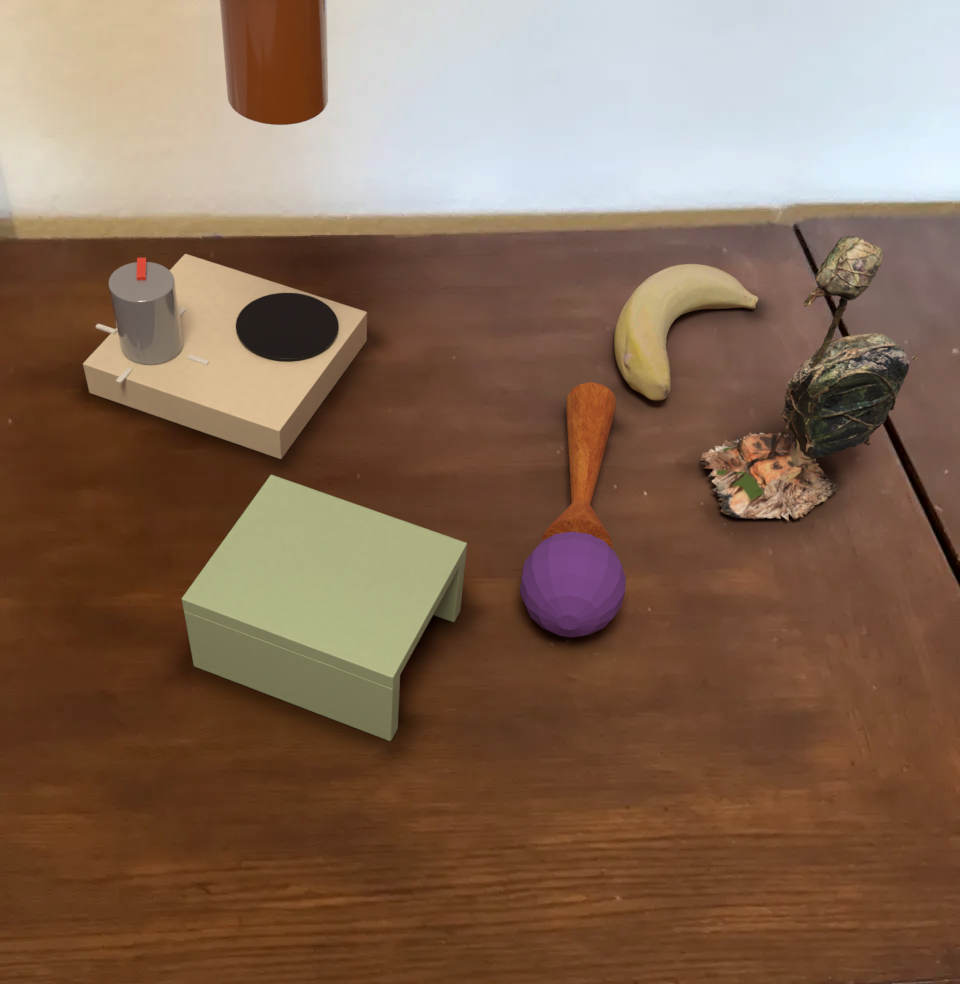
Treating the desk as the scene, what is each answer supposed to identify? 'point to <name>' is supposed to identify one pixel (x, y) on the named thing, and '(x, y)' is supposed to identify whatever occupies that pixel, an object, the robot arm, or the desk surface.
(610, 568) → the kendama
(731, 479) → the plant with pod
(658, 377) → the fruit
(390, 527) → the shelf
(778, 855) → the desk surface
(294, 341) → the burner
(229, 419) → the hob
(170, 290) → the hob knob
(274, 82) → the spice bottle
